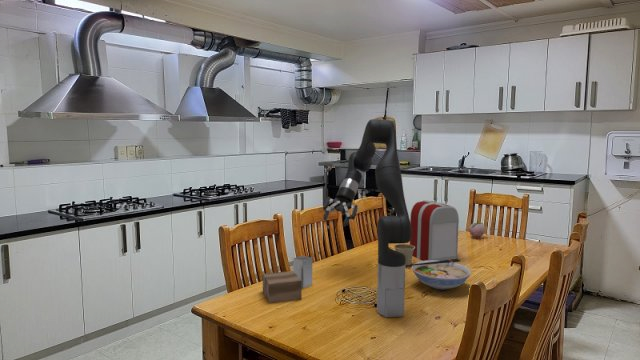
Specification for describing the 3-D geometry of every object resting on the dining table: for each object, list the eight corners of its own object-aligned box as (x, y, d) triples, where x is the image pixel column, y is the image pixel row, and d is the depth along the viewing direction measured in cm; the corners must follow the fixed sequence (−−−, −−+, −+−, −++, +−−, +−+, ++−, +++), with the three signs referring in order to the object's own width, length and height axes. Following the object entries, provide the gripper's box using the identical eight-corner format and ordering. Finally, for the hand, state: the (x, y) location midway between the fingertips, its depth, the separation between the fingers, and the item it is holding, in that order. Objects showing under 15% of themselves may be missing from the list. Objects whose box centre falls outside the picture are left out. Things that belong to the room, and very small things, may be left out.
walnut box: (301, 299, 161) (301, 280, 161) (269, 303, 158) (269, 284, 157) (293, 288, 173) (293, 270, 172) (262, 291, 169) (262, 273, 168)
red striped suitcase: (435, 251, 227) (437, 199, 223) (458, 260, 210) (460, 204, 207) (408, 254, 221) (409, 200, 217) (428, 264, 204) (430, 206, 201)
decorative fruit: (474, 235, 260) (474, 219, 259) (487, 238, 253) (487, 221, 252) (465, 238, 254) (466, 221, 253) (478, 240, 247) (479, 223, 246)
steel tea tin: (312, 284, 177) (312, 258, 175) (303, 288, 173) (303, 261, 171) (302, 281, 180) (302, 255, 179) (293, 285, 176) (293, 258, 175)
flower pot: (414, 268, 197) (415, 250, 196) (393, 267, 199) (393, 248, 198) (414, 262, 207) (414, 244, 206) (394, 261, 208) (394, 243, 208)
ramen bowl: (426, 300, 161) (426, 278, 160) (398, 279, 183) (399, 260, 182) (485, 294, 168) (486, 273, 167) (452, 274, 189) (452, 256, 189)
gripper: (331, 182, 190) (317, 213, 183) (362, 190, 186) (349, 223, 178) (333, 191, 197) (319, 222, 189) (363, 200, 192) (350, 231, 185)
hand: (334, 222), depth 184 cm, fingers open, 8 cm apart
